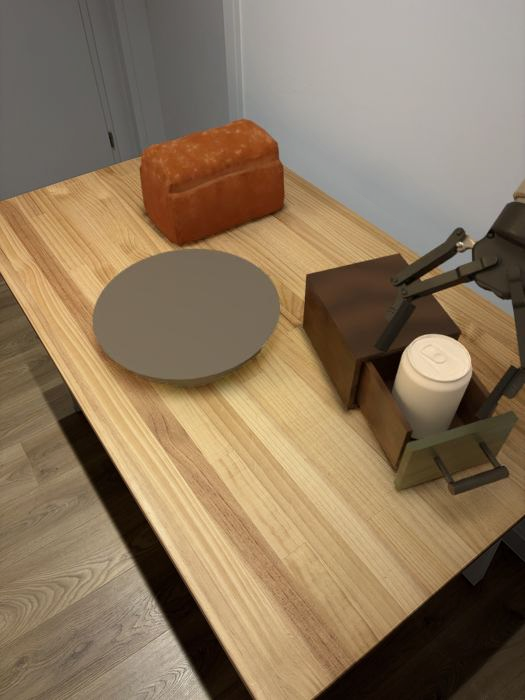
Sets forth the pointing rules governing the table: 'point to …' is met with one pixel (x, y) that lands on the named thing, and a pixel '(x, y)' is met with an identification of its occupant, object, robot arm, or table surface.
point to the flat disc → (186, 316)
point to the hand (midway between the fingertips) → (427, 382)
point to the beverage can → (431, 383)
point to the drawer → (440, 449)
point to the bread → (211, 180)
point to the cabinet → (363, 318)
